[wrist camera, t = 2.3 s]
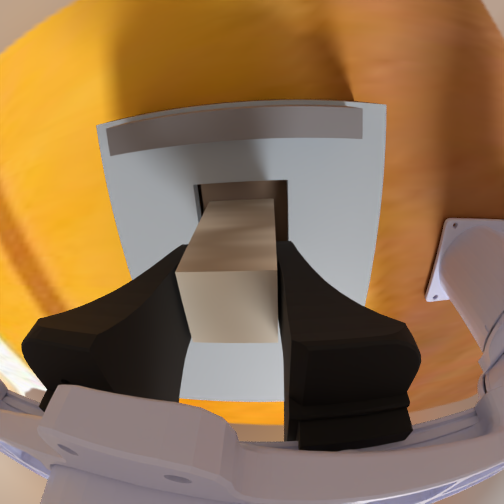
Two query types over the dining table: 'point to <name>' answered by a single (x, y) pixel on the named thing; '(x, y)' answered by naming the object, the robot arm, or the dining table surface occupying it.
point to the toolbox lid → (250, 169)
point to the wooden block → (232, 274)
